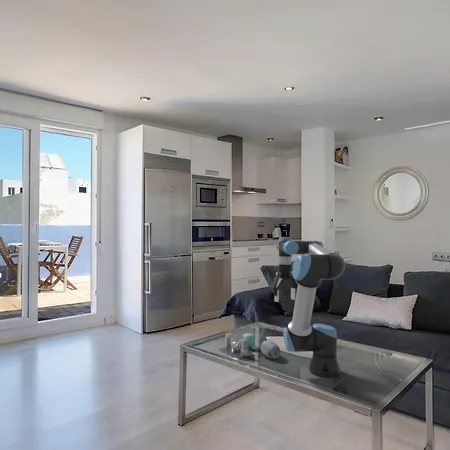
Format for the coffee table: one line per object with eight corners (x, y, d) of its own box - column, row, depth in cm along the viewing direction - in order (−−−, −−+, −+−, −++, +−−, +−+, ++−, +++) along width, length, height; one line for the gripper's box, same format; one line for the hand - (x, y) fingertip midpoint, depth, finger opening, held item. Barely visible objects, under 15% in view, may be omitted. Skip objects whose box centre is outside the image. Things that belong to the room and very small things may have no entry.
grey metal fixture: (253, 355, 215) (253, 339, 215) (237, 358, 208) (237, 342, 208) (234, 346, 229) (234, 331, 229) (219, 349, 223) (219, 334, 223)
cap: (260, 348, 225) (260, 336, 225) (251, 350, 221) (251, 338, 221) (246, 342, 236) (246, 331, 236) (237, 344, 231) (237, 333, 232)
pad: (258, 348, 227) (258, 347, 227) (247, 350, 223) (247, 349, 223) (250, 344, 234) (250, 343, 234) (239, 346, 229) (239, 345, 229)
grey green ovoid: (286, 354, 207) (276, 337, 208) (272, 363, 204) (262, 347, 205) (277, 352, 220) (268, 337, 221) (264, 361, 217) (255, 345, 218)
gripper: (294, 262, 230) (294, 297, 230) (264, 264, 215) (264, 301, 215) (304, 263, 224) (304, 299, 224) (274, 264, 209) (274, 303, 209)
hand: (284, 300), depth 219 cm, fingers open, 13 cm apart
